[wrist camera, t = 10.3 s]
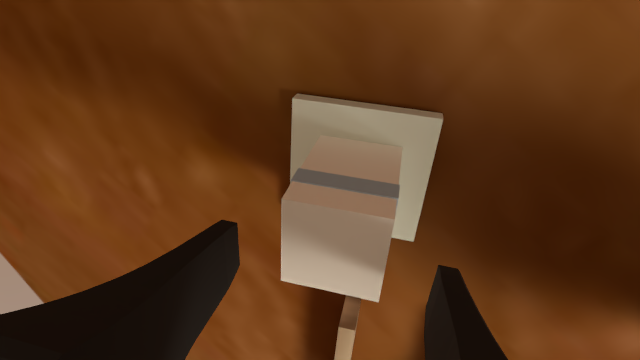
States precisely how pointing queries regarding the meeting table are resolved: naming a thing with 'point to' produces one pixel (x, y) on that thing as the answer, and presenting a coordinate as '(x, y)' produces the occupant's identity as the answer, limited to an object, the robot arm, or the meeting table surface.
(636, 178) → the meeting table surface
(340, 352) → the shelf bay
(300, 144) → the stand tile
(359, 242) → the block
